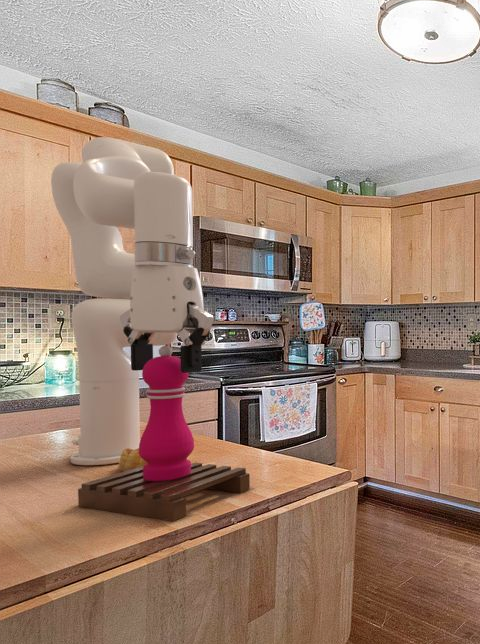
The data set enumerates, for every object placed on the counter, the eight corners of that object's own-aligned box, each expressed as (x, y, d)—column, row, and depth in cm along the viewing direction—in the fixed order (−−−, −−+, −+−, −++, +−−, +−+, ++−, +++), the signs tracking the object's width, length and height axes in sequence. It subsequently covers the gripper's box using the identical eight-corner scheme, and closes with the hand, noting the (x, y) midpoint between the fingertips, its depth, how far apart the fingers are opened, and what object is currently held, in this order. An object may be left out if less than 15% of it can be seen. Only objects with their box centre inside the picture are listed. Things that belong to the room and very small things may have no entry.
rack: (78, 506, 72) (77, 483, 72) (164, 478, 86) (164, 459, 86) (173, 521, 67) (173, 496, 67) (249, 489, 80) (249, 468, 80)
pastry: (182, 460, 97) (182, 441, 97) (177, 469, 91) (177, 449, 91) (125, 465, 93) (124, 445, 93) (115, 475, 87) (115, 454, 87)
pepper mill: (168, 484, 72) (166, 347, 71) (126, 480, 74) (124, 346, 73) (205, 470, 79) (203, 345, 78) (166, 467, 81) (164, 344, 80)
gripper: (230, 259, 76) (231, 370, 77) (144, 263, 81) (146, 367, 82) (188, 252, 69) (189, 375, 70) (97, 256, 74) (99, 371, 75)
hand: (166, 370), depth 76 cm, fingers open, 9 cm apart
